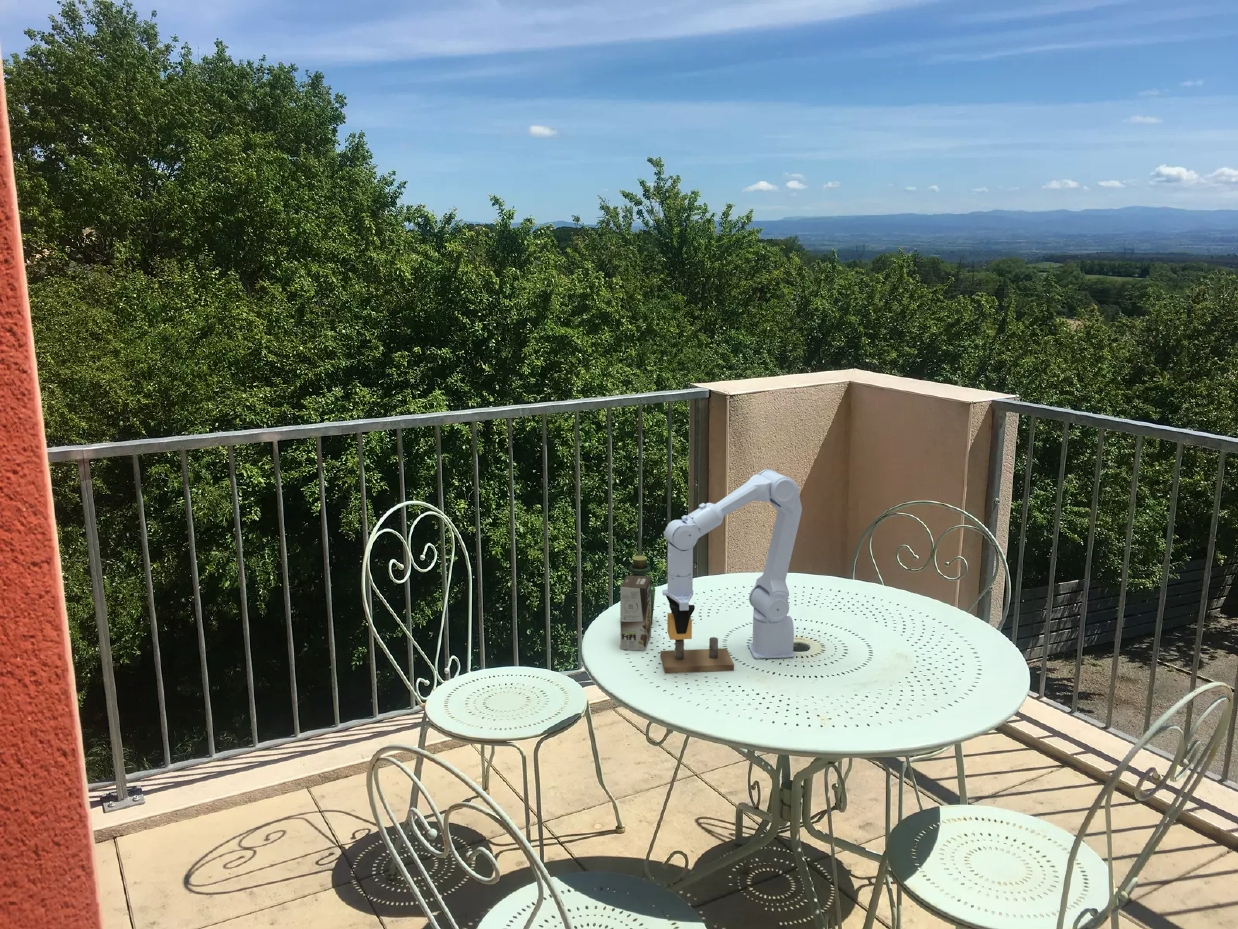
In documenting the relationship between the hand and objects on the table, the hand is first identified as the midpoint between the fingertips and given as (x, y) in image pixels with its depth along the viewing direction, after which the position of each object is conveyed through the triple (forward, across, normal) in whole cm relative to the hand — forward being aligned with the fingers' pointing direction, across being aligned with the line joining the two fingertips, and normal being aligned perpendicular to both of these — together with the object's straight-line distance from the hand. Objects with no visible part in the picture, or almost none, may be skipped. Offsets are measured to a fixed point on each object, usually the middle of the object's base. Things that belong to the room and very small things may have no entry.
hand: (679, 628), depth 205 cm
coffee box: (+9, -13, -9) cm, 18 cm away
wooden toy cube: (+2, 0, 0) cm, 2 cm away
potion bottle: (+9, -25, -7) cm, 28 cm away
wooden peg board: (+9, 0, +4) cm, 10 cm away
